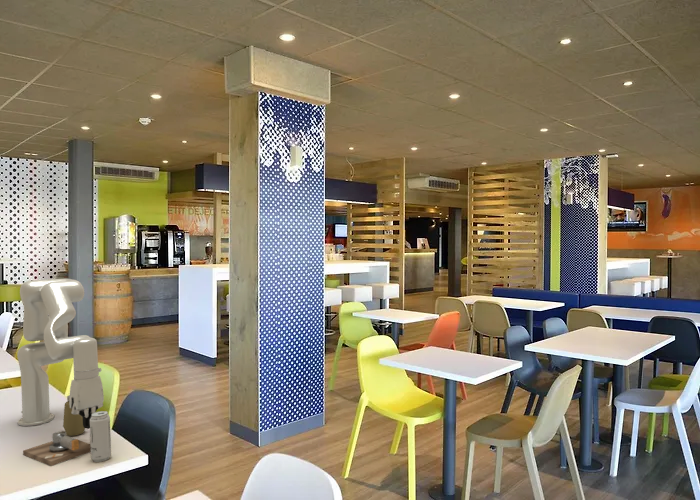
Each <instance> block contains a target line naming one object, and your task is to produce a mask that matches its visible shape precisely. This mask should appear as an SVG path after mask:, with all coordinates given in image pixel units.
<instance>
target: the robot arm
mask: <svg viewBox="0 0 700 500" xmlns="http://www.w3.org/2000/svg"><path fill="white" fill-rule="evenodd" d="M19 296H20V299H21V302H22V306H23V321H22V322H23V323H22V325H23V326H22V327H23V328H22V334H23V335H22V336H23V339H25V341H27V342H31V343H27V344H24V345H22V346H20V348H18V350H17V353H16V354H17V356H16V358H17V361H18V365H19V371H20V383H21V384H20V385H21V386H20V387H21V389H20V390H21V408H22V409H21V411H20V413H21V415H22V418H20V419H18V420H17V424H18V425H19V426H21V427H32V426H33V427H34V426H38V425H43V424H45V423H48V422H51V421H53V420H54V419H55V415H54V414H53V413H51V412H50V408H51V407H50V385H49V384H50V383H49V375H48V373H47V372H46V371H45V370H44V369H43V368H42V366H47V365H54V364H58V363H61V362H63V361H65V360H70V359H72V360H73V361H72V362H73V379H71V382H70V388H69V395H70V398H69V405H70V408H71V409H72V412H71V413H72V414H79V415H81V416H82V417H83V426H84V428H85V429H87V430H90V418H91V417H92V414H93V413H95V412H98V409H101V408H102V407H104V396H105V395H104V387H103V382H102V378H101V376H100V375H99V374H100V373H101V372H102V368H101V367H99V360H98V359H99V358H98V340H97V339H96V338H94V337H91V336H89V335H88V334H87V335H86V334H83V335H75V336H69V325H68V323H70V322H72V321H73V319H75V317H76V314H77V312H76V309H75V305H73V303H79V302H81V301H82V300H83V299H84V297H85V288H84V286H83V285H82V282H80V281H78V280H76V279H73V278H72V279H71V278H53V279H52V278H51V279H50V278H49V279H47V278H46V279H35V280H28V281H25V282H23V283H22V284H21V285H20V288H19Z"/></svg>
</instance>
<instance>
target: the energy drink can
mask: <svg viewBox="0 0 700 500" xmlns="http://www.w3.org/2000/svg"><path fill="white" fill-rule="evenodd" d="M108 413H109V412H108V411H106V410H105V411H103V410H101V411H96V412H95V413H93V414H92V417H91V418H90V429H89V436H90V437H89V440H90V443H89V444H90V445H91V452H90V458H91V460H92V461H93V462H95V463H101V462H105V461H107V460H109V459H110V457H111V456H112V440H111V438H112V437H111V436H112V435H111V418H110V415H109V414H108Z"/></svg>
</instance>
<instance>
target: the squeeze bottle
mask: <svg viewBox="0 0 700 500" xmlns="http://www.w3.org/2000/svg"><path fill="white" fill-rule="evenodd" d="M66 398H67V399H66V400H67V401H66V402H64V408H63V421H62V427H63V429H64V432H66V436H68V437H71V436H72V437H74V436H78V435H82V434H83V433H84V432H85V430H86V428H84V426H83V417H82V416H81V415H79V414H72V413H71V412H72V409H71V408H70V405H69V398H70V394H69V395H67V396H66Z"/></svg>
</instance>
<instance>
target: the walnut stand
mask: <svg viewBox="0 0 700 500" xmlns="http://www.w3.org/2000/svg"><path fill="white" fill-rule="evenodd" d="M78 440H79V439H78ZM52 444H53V440H52V441H48V442H45V443H42V444H39V445H36V446H33V447H30V448H26V449H23V451H22V455H23V456H25V457H27V458H30V459H33V460H34V461H35V460H36V461H37V462H40V463H43V464H45V465H47V466H50V467H52V466H55V465H58V464H60V463H64V462H66V461H68V460H71V459H72V460H73V459H75V458H78V457H80V456H83V455H86V454H88V453H91V445H90V443H89V442H86V441H82V440H79V449H77V450H71V449H67V450H64V451H59V452H51V451H49V446H50V445H52Z"/></svg>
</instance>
